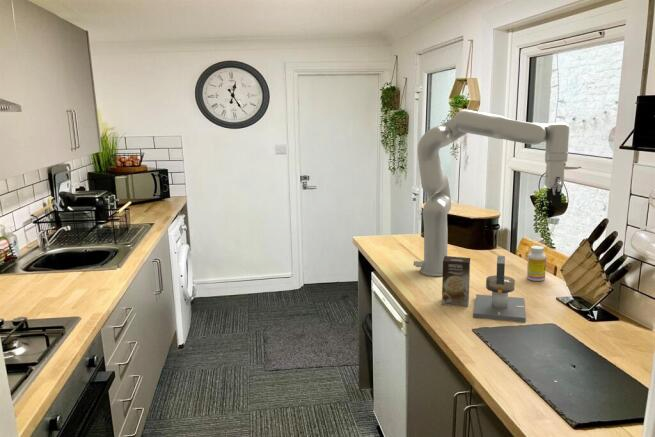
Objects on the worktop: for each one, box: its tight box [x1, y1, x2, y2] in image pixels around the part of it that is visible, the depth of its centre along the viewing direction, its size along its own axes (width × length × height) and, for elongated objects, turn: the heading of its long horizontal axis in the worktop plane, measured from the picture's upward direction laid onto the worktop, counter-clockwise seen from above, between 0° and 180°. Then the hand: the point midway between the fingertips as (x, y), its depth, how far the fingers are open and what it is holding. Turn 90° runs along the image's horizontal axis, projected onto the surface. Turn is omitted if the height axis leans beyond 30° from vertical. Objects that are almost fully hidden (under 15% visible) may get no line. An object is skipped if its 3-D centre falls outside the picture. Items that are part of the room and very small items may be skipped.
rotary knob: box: [485, 255, 516, 294], centre depth 170 cm, size 12×9×10 cm
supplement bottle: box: [526, 245, 547, 282], centre depth 202 cm, size 7×7×13 cm
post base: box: [472, 291, 527, 323], centre depth 173 cm, size 16×18×7 cm
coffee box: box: [441, 255, 471, 308], centre depth 180 cm, size 9×6×16 cm
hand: (553, 203), depth 193 cm, fingers open, 9 cm apart
